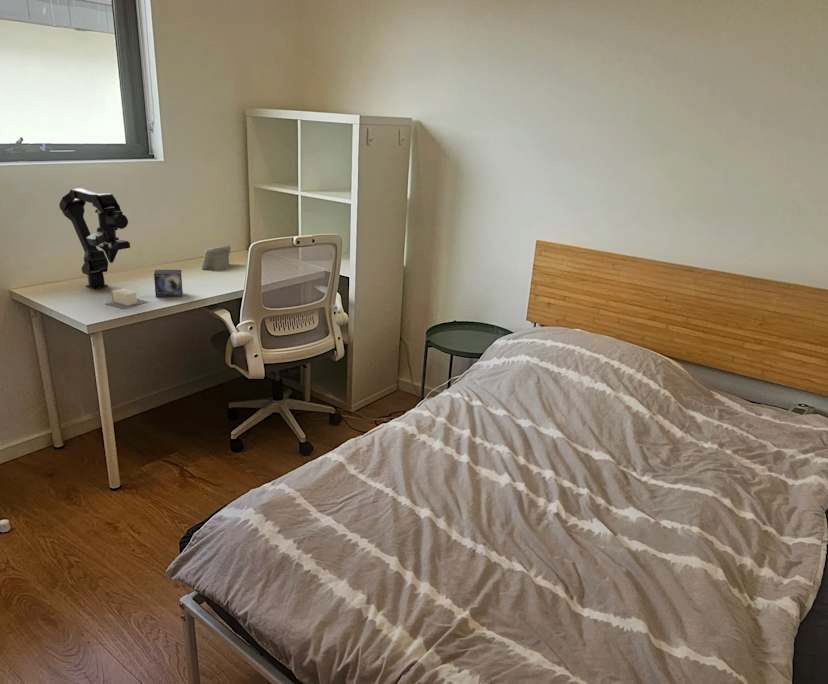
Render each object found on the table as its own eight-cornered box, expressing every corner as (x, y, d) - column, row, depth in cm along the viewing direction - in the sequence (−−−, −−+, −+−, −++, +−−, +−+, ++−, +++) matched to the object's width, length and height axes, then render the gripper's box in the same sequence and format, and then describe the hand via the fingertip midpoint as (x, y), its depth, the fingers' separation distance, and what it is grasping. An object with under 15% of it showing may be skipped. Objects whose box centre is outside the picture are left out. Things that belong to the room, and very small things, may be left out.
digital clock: (226, 263, 314) (225, 243, 310) (236, 267, 309) (235, 246, 305) (197, 268, 302) (196, 247, 298) (208, 272, 297) (206, 250, 293)
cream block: (111, 290, 244) (126, 294, 241) (121, 288, 248) (136, 292, 244) (112, 301, 246) (127, 305, 242) (122, 298, 250) (137, 303, 246)
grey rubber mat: (105, 304, 243) (105, 303, 243) (131, 297, 253) (131, 297, 253) (122, 309, 238) (122, 308, 238) (148, 302, 248) (148, 301, 248)
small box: (155, 297, 255) (153, 273, 251) (156, 293, 260) (154, 269, 257) (182, 297, 258) (180, 273, 254) (183, 292, 263) (181, 269, 260)
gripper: (73, 224, 244) (78, 262, 250) (104, 231, 236) (109, 270, 242) (98, 221, 253) (103, 257, 259) (129, 227, 246) (133, 265, 251)
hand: (111, 262), depth 252 cm, fingers closed
